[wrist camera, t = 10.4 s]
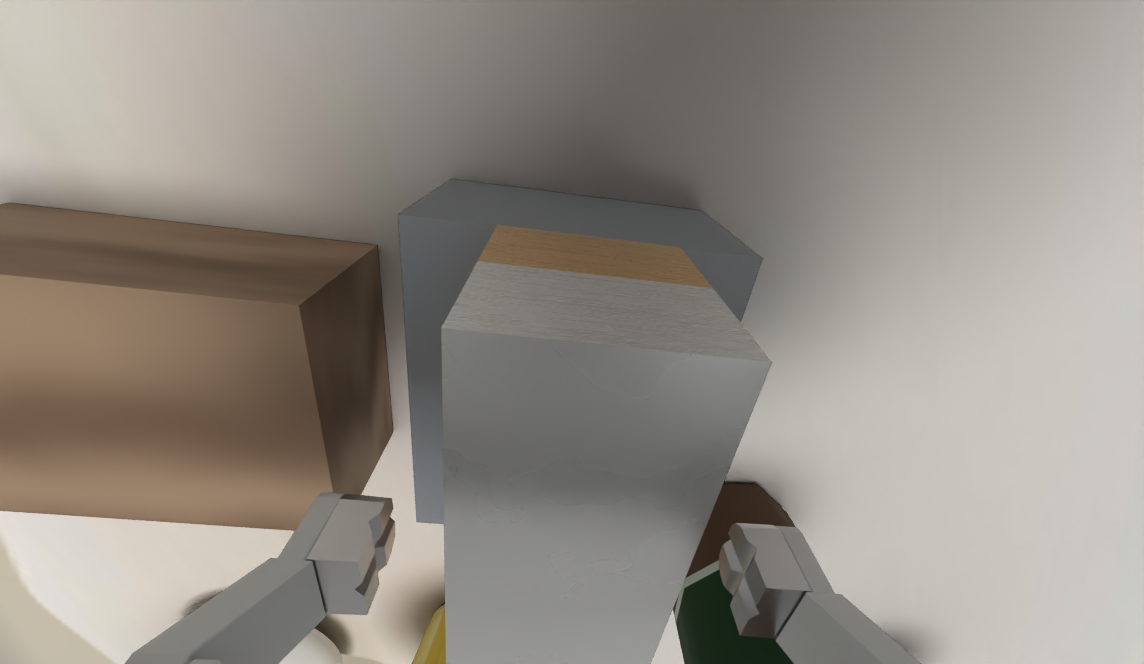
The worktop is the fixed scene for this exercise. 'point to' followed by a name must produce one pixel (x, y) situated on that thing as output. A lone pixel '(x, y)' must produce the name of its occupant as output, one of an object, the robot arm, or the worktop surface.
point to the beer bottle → (703, 603)
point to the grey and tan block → (582, 444)
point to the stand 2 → (454, 245)
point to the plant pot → (433, 641)
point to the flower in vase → (314, 651)
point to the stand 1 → (185, 369)
